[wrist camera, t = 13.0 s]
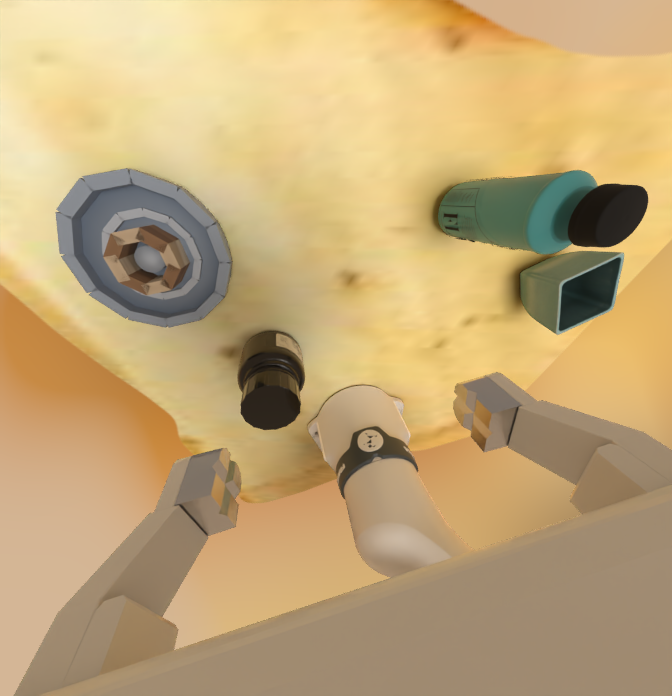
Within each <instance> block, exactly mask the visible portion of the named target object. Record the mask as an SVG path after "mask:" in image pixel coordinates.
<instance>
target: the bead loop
mask: <svg viewBox="0 0 672 696" xmlns="http://www.w3.org/2000/svg"><path fill="white" fill-rule="evenodd" d="M140 241H141V242H143V243H145V244H147V245H148V246H150V247H152V248H154V249H156V250H158V251H159V252H160V254H161V256H162V258H163V260H164V262H165V264H166V266H167V268H166V271H165V273H164V275H160V276H158V275H156V274H154V273H151V272H147V271H145V270H143V269H142V268H140V267H139V266H138V264H137V263H136V261H135V258H134V254H135V251H136V248H137V246H138V243H139V242H140ZM103 258H104V260H105V261H106V263H107V264H108V266H109V268H110V269H111V271H112V272H113V274H114V276H115V277H116V279H117V280H118V282H119V283H121V284H123V285H125V286H127V287H129V288H132V289H134V290H136V291H138V292H140V293H143V294H145V295H152V294H156V293H161V292H165V291H169V290H172V289H173V288H174V287H176V286H177V285H178V284H179V283H180V282H182V280H183V277H184V275H185V273H186V271H187V268H188V266H189V264H190V261H189V259H188V257H187V255H186V253H185V250H184V248H183V246H182V244H181V242H180V239H178V238H177V237H175V236H173V235H171V234H170V233H168V232H166V231H164V230H162V229H161V228H159V227H157V226H155V225H148V226H143V227H138V228H133V229H128V230H123V231H118V232H113V233H111V234H110V237H109V240H108V243H107V246H106V249H105V252H104V255H103Z"/></svg>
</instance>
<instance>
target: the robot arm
mask: <svg viewBox="0 0 672 696" xmlns="http://www.w3.org/2000/svg"><path fill="white" fill-rule="evenodd" d="M454 392H455V393H456V395H457V398H456V399H455V400H454V402H453V409H454V413H455V416H456V418H457V420H458V421H459V423H460V424H461V425H462V426H463V427H464V428H467V429H469V430H471V437H472V439H473V440H474V441H475V442H476V443H477V445H478V446H479V447H480V448H481V449H482V451H483V452H487V451H490V450H494V449H498V448H502V447H505V446H508V448H510V449H512V450H514V451H515V452H517V453H519V454H521V455H523V456H524V457H526V458H528V459H530V460H532V461H533V462H535V463H537V464H539V465H541V466H542V467H544V468H546V469H548V470H550V471H552V472H553V473H555V474H557V475H559V476H560V477H562V478H564V479H566V480H568V481H570V482H571V483H573V484H575V485H576V486H575V488H574V490H573V492H572V494H571V495H570V502H571V503H572V504H573V505H574V506H575V507H576V508H577V509H578V510H579V512H580V513H582V514H581V515H578V516H575V517H573V518H569V519H567V520H563V521H561V522H557V523H555V524H552V525H549V526H545V527H543V528H539V529H536V530H533V531H530V532H528V533H525V534H521V535H519V536H515V537H513V538H509V539H506V540H504V541H501V542H497V543H494V544H491V545H489V546H485V547H483V548H479V549H477V550H473V549H472V548H471V547H470V546H469V545H468V544H467V543H465V542H464V541H463V540H462V539H461V538H460V536H459V535H457V533H456V532H455V531H454V530H453V529H452V528H451V526H450V525H449V524H448V523H447V521H446V520H445V518H444V517H443V516H442V514H441V513H440V511H439V509H438V508H437V506H436V504H435V503H434V501H433V499H432V498H431V496H430V494H429V492H428V491H427V489H426V487H425V485H424V484H423V482H422V480H421V478H420V476H419V474H418V467H417V464H416V462H415V459H414V456H413V455H412V453H411V451H410V450H409V448H408V443H409V438H410V432H409V430H408V428H407V426H406V424H405V422H404V420H403V418H402V413H403V408H404V404H403V402H402V400H401V399H399V398H395V397H390V396H389V395H387V394H386V393H385V392H384V391H382V390H381V389H379V388H376V387H373V386H365V385H362V386H354V387H350V388H347V389H344V390H342V391H340V392H338V393H336V394H335V395H333V396H332V397H331V398H329V399H328V400H327V401H326V403H325V404H324V405H323V407H322V408H321V410H320V412H319V414H318V416H317V417H316V418H315V419H314V420H312V421H311V422H310V423H309V424H308V426H307V428H308V432H309V434H310V435H311V437H312V438H313V440H314V441H315V443H316V444H317V445H318V447H319V448H320V450H321V451H322V453H323V457H324V460H325V461H326V462H328V464H329V466H330V467H331V468H332V469H333V470H334V472H335V473H336V475H337V482H338V486H339V489H340V491H341V495H342V497H343V498H344V499H345V500H346V505H347V509H348V514H349V518H350V522H351V526H352V531H353V536H354V540H355V544H356V548H357V550H358V552H359V554H360V556H361V558H362V559H363V560H364V561H365V562H366V564H367V565H369V566H370V567H371V568H372V569H374V570H375V571H377V572H378V573H380V574H382V575H385V576H388V577H391V578H389V579H386V580H383V581H380V582H377V583H374V584H371V585H368V586H365V587H362V588H359V589H356V590H354V591H350V592H347V593H344V594H341V595H338V596H335V597H332V598H329V599H326V600H323V601H320V602H317V603H314V604H311V605H308V606H305V607H302V608H299V609H296V610H293V611H291V612H287V613H284V614H281V615H278V616H275V617H272V618H269V619H267V620H263V621H260V622H257V623H255V624H251V625H248V626H246V627H242V628H239V629H236V630H233V631H230V632H227V633H225V634H221V635H219V636H215V637H212V638H209V639H206V640H204V641H200V642H197V643H195V644H191V645H188V646H185V647H182V648H179V649H176V650H174V647H175V643H176V638H177V634H178V629H177V627H176V625H175V624H173V623H171V622H170V621H168V620H166V619H164V618H163V617H162V616H163V615H164V613H165V611H166V609H167V608H168V606H169V604H170V603H171V601H172V599H173V597H174V596H175V594H176V592H177V591H178V589H179V587H180V585H181V584H182V582H183V580H184V579H185V577H186V575H187V573H188V572H189V570H190V568H191V567H192V565H193V563H194V561H195V560H196V558H197V556H198V555H199V553H200V551H201V549H202V548H203V546H204V544H205V543H206V541H207V539H208V536H210V535H212V534H216V533H218V532H222V531H225V530H228V529H231V528H234V527H236V521H237V513H238V504H237V502H236V501H235V498H236V497H237V495H238V494H239V492H240V489H241V475H240V471H239V467H238V466H237V464H236V462H233V461H231V460H230V455H231V454H230V452H229V451H228V450H227V448H221V449H217V450H213V451H209V452H205V453H201V454H197V455H193V456H190V457H186V458H182V459H178V460H177V461H176V462H175V463H174V464H173V466H172V469H171V471H170V473H169V476H168V479H167V481H166V484H165V486H164V489H163V491H162V494H161V496H160V499H159V501H158V504H157V506H156V509H155V511H154V512H153V513H150V514H148V515H147V516H146V517H145V519H144V520H143V521H142V522H141V523H140V524H139V525H138V526H137V527H136V529H134V531H133V532H132V533H131V534H130V535H129V536H128V537H127V538H126V539H125V540H124V541H123V542H122V544H121V545H120V546H119V547H118V548H117V549H116V550H115V551H114V552H113V553H112V554H111V556H110V557H109V558H108V559H107V560H106V561H105V562H104V563H103V564H102V565H101V567H100V568H99V569H98V570H97V571H96V572H95V573H94V574H93V575H92V576H91V577H90V578H89V580H88V581H87V582H86V583H85V584H84V585H83V586H82V587H81V589H80V590H78V592H77V593H76V594H75V595H74V596H73V597H72V598H71V599H70V600H69V601H68V602H67V604H66V605H65V606H64V607H63V608H62V609H61V610H60V611H59V612H58V614H57V615H56V617H55V619H54V621H53V623H52V625H51V627H50V628H49V630H48V632H47V634H46V636H45V638H44V640H43V642H42V644H41V645H40V647H39V649H38V651H37V653H36V655H35V657H34V659H33V660H32V662H31V664H30V666H29V668H28V670H27V672H26V674H25V675H24V677H23V679H22V681H21V683H20V685H19V687H18V689H17V690H16V693H15V694H14V696H672V450H671V449H669V448H667V447H666V446H664V445H663V444H661V443H660V442H658V441H657V440H655V439H653V438H652V437H650V436H649V435H647V434H645V433H644V432H641V431H638V430H635V429H632V428H628V427H626V426H622V425H619V424H616V423H613V422H609V421H607V420H603V419H600V418H597V417H594V416H590V415H587V414H584V413H581V412H578V411H575V410H572V409H568V408H565V407H562V406H559V405H556V404H552V403H549V402H546V401H543V400H541V401H537V400H535V399H534V398H533V397H531V396H530V395H529V394H528V393H526V392H525V391H524V390H522V389H521V388H520V387H518V386H517V385H516V384H515V383H513V382H512V381H511V380H509V379H508V378H507V377H505V376H504V375H503V374H501V373H498V372H496V373H492V374H489V375H485V376H483V377H478V378H475V379H471V380H468V381H464V382H461V383H457V384H456V386H455V391H454Z"/></svg>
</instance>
